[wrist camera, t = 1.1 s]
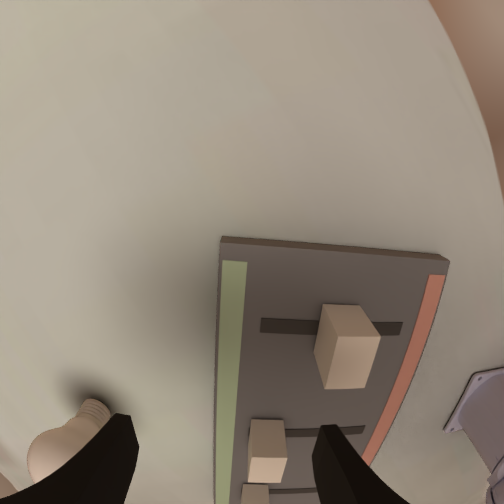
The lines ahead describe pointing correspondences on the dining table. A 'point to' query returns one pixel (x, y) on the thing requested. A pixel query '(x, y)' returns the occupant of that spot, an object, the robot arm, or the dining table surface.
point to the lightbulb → (65, 440)
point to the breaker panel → (311, 350)
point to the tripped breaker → (345, 346)
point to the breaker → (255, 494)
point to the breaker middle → (266, 451)
